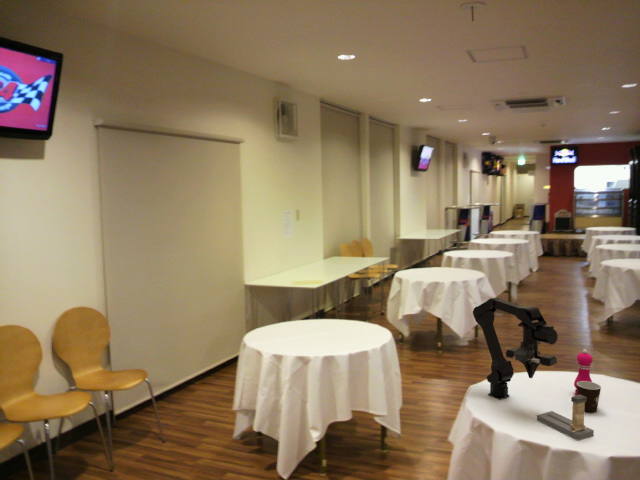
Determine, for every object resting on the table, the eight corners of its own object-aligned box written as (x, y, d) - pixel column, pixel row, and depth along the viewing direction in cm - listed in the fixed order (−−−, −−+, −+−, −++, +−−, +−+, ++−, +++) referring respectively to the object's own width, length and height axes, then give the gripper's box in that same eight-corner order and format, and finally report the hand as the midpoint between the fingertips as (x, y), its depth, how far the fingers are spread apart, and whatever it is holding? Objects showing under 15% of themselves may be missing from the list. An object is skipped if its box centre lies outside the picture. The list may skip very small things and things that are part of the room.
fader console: (536, 420, 200) (536, 414, 200) (551, 415, 203) (551, 410, 203) (577, 440, 184) (578, 434, 184) (593, 435, 187) (593, 430, 187)
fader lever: (569, 427, 189) (570, 396, 187) (578, 424, 191) (579, 394, 189) (576, 431, 186) (578, 399, 185) (585, 428, 188) (587, 397, 187)
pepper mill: (595, 398, 219) (598, 352, 217) (578, 398, 219) (580, 352, 217) (587, 391, 226) (589, 346, 224) (570, 391, 227) (572, 346, 224)
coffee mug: (586, 415, 204) (587, 390, 203) (570, 406, 212) (571, 382, 211) (611, 411, 207) (612, 387, 206) (594, 403, 215) (595, 379, 214)
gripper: (497, 338, 209) (498, 377, 210) (542, 347, 194) (542, 388, 195) (513, 333, 216) (513, 371, 217) (557, 341, 201) (557, 381, 202)
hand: (530, 377), depth 208 cm, fingers closed
